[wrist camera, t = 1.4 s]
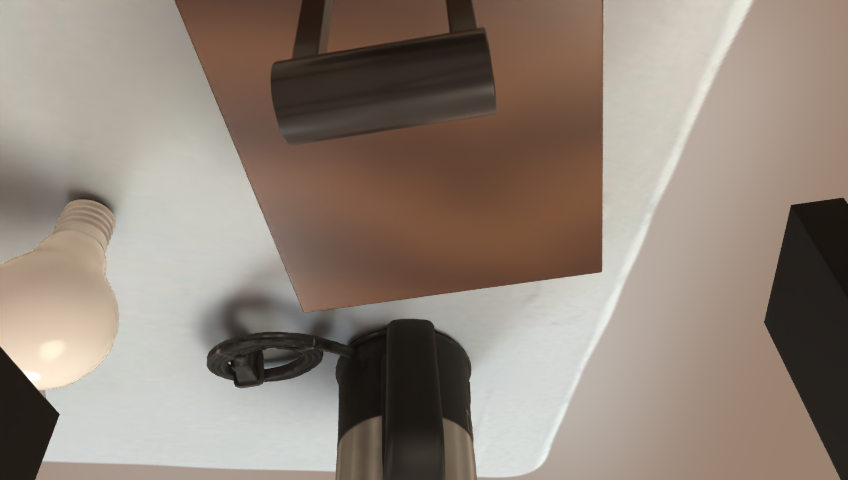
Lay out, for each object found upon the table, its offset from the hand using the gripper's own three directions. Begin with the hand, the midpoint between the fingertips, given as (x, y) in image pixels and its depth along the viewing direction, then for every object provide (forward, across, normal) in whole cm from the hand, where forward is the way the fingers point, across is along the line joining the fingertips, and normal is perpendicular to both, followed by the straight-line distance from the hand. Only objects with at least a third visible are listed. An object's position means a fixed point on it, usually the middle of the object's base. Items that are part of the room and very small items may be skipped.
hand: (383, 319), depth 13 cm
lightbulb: (+23, -19, -14) cm, 33 cm away
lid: (+14, 0, -6) cm, 15 cm away
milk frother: (+23, -8, -29) cm, 38 cm away
